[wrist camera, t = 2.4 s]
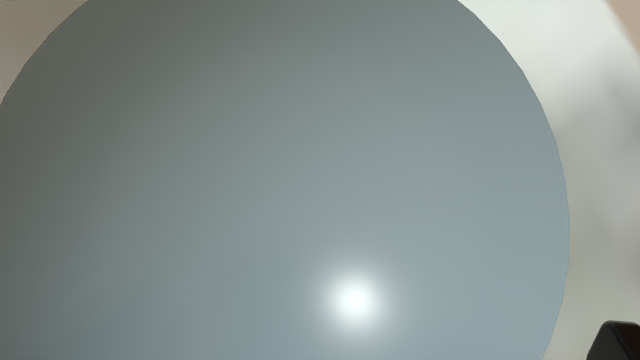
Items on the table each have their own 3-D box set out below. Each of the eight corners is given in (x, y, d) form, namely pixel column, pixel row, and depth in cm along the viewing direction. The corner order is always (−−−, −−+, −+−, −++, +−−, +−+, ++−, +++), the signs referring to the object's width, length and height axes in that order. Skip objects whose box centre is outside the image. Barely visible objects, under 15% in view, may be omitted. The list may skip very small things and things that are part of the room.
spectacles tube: (422, 308, 17) (681, 400, 4) (275, 365, 17) (54, 647, 4) (365, 165, 18) (427, -138, 5) (225, 217, 18) (-93, 49, 5)
